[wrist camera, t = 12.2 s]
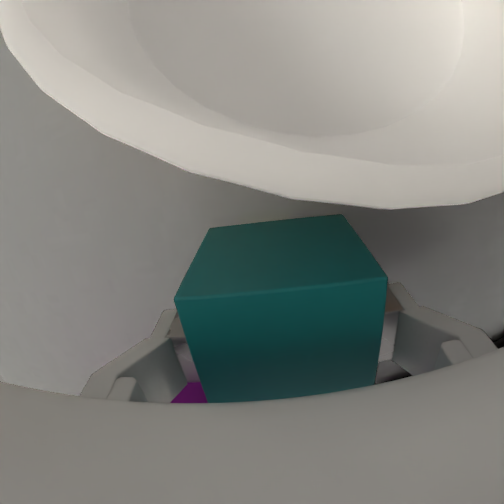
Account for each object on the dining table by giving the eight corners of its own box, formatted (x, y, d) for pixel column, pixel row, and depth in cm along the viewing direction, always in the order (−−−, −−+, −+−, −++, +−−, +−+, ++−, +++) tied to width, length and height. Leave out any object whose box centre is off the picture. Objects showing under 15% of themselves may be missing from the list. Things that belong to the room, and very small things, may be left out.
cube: (208, 227, 11) (172, 298, 7) (342, 213, 10) (389, 277, 6) (230, 334, 13) (215, 425, 8) (343, 323, 12) (369, 411, 8)
